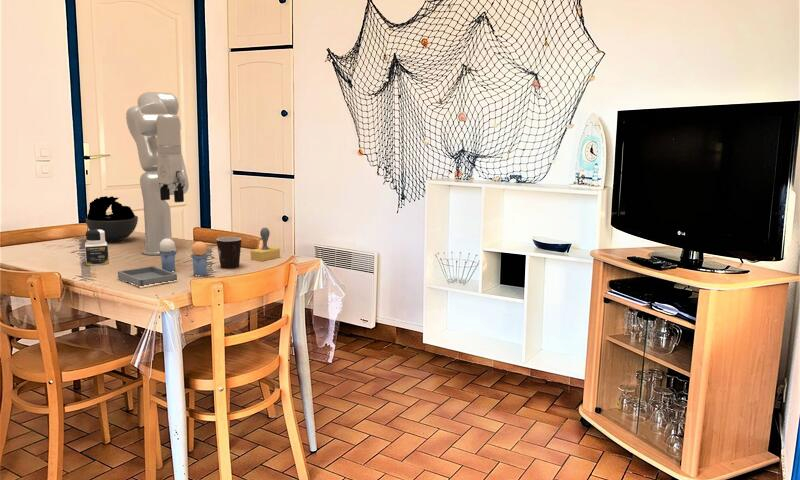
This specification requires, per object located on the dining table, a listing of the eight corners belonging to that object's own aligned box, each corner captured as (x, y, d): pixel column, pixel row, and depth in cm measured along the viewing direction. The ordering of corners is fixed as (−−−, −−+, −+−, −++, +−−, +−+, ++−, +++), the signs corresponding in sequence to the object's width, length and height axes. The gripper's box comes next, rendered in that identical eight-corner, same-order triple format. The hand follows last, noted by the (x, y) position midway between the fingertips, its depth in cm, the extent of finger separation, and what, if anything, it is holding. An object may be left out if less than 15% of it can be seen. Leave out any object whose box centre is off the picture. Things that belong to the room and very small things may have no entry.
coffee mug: (219, 264, 233) (218, 236, 231) (244, 264, 234) (243, 236, 232) (213, 271, 221) (212, 242, 220) (238, 271, 222) (238, 243, 220)
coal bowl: (102, 236, 282) (99, 193, 278) (147, 237, 281) (144, 194, 278) (77, 245, 262) (74, 199, 259) (126, 246, 261) (123, 200, 258)
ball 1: (157, 252, 219) (156, 238, 218) (171, 250, 223) (170, 236, 222) (164, 255, 216) (163, 240, 215) (178, 253, 219) (177, 238, 219)
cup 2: (190, 274, 216) (190, 254, 215) (202, 272, 219) (202, 252, 218) (197, 277, 213) (197, 256, 212) (209, 275, 216) (208, 254, 215)
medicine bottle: (86, 265, 226) (84, 232, 224) (86, 261, 233) (83, 229, 230) (108, 264, 230) (106, 231, 227) (107, 260, 236) (105, 227, 234)
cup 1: (159, 271, 220) (158, 251, 219) (171, 269, 224) (170, 249, 222) (165, 273, 217) (164, 253, 216) (177, 271, 221) (176, 251, 219)
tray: (118, 279, 209) (117, 271, 208) (153, 273, 218) (152, 265, 217) (140, 288, 198) (140, 280, 198) (177, 281, 207) (176, 274, 206)
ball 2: (188, 256, 215) (188, 241, 214) (202, 254, 218) (201, 239, 217) (196, 258, 211) (196, 243, 211) (210, 256, 215) (209, 241, 214)
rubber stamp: (260, 262, 238) (260, 230, 236) (250, 259, 241) (249, 228, 239) (280, 257, 246) (280, 226, 244) (269, 255, 249) (269, 225, 247)
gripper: (147, 150, 223) (150, 199, 226) (171, 151, 211) (174, 203, 214) (167, 150, 228) (170, 198, 231) (192, 151, 217) (194, 202, 220)
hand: (172, 200), depth 223 cm, fingers open, 9 cm apart
